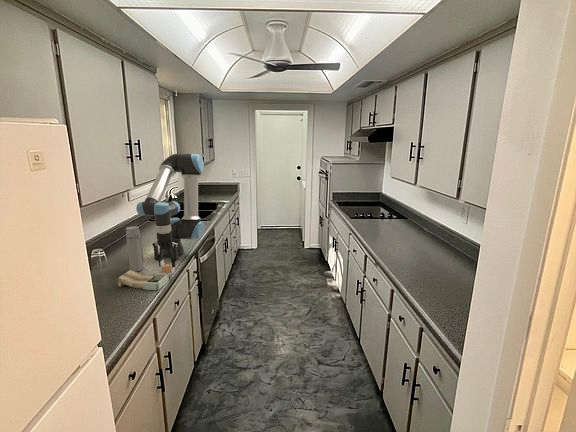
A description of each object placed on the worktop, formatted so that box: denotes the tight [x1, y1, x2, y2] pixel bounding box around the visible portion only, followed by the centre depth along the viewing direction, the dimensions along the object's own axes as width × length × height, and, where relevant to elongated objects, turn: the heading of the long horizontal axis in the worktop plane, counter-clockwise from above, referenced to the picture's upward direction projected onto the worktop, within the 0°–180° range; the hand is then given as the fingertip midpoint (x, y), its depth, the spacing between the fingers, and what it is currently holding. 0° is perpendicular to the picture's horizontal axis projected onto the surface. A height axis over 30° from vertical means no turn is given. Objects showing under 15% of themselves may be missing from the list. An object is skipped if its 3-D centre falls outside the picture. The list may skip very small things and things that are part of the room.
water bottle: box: [125, 225, 147, 273], centre depth 183 cm, size 9×8×25 cm
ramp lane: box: [117, 269, 156, 289], centre depth 168 cm, size 10×14×5 cm
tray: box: [142, 272, 170, 291], centre depth 167 cm, size 12×8×4 cm, turn 174°
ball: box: [162, 263, 171, 274], centre depth 176 cm, size 5×5×5 cm
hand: (168, 272), depth 177 cm, fingers closed on ball, 5 cm apart
